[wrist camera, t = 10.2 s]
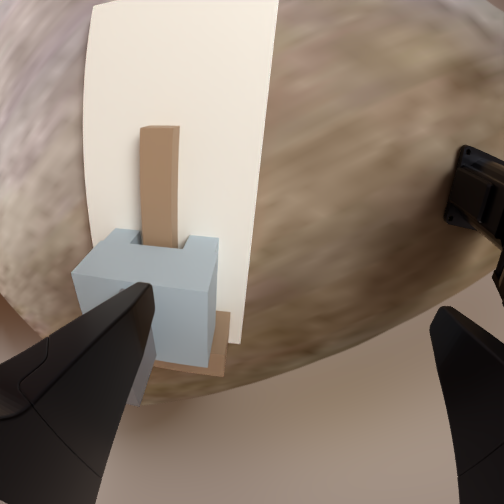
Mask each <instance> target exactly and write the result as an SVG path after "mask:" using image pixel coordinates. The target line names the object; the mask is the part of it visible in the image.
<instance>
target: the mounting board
mask: <svg viewBox="0 0 504 504" xmlns="http://www.w3.org/2000/svg"><path fill="white" fill-rule="evenodd" d="M278 2H279V0H118V1H113V2H109V3H104V4H100V5H96V6H93V12H92V17H91V23H90V30H89V37H88V45H87V54H86V64H85V77H84V96H83V152H84V171H85V185H86V196H87V205H88V214H89V222H90V229H91V236H92V243H93V248H94V247H95V246H96V245H97V244H98V243H99V242H100V241H103V240H104V239H105V238H106V237H107V236H108V235H109V234H110V233H111V232H112V231H113V230H114V229H115V228H119V229H130V230H140V233H141V245H148V246H158V247H167V248H177V249H183V248H184V246H185V244H186V242H187V240H188V238H189V236H190V235H195V236H205V237H215V238H219V250H218V272H217V296H216V321H215V330H214V336H213V341H212V346H211V352H210V357H209V363H208V368H205V367H197V366H190V365H184V364H177V363H171V362H165V361H159V360H155V361H154V364H153V366H154V367H159V368H165V369H170V370H177V371H183V372H190V373H196V374H204V375H212V376H220V377H224V371H225V363H226V355H227V347H228V343H236V344H240V342H241V332H242V323H243V314H244V305H245V296H246V287H247V278H248V269H249V260H250V251H251V242H252V233H253V224H254V215H255V206H256V197H257V188H258V179H259V170H260V161H261V152H262V143H263V134H264V125H265V116H266V107H267V99H268V90H269V81H270V72H271V63H272V54H273V46H274V37H275V28H276V19H277V11H278Z"/></svg>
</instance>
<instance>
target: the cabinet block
mask: <svg viewBox="0 0 504 504" xmlns="http://www.w3.org/2000/svg"><path fill="white" fill-rule="evenodd" d="M218 250H219V238H215V237H205V236H195V235H190V236H189V238H188V240H187V242H186V244H185V246H184V248H183V249H177V248H167V247H158V246H148V245H141V233H140V230H130V229H119V228H115V229H114V230H113V231H112V232H111V233H110V234H109V235H108V236H107V237H106V238H105V239H104V240H103V241H100V242H99V243H98V244H97V245H96V246H95V247H94V248H93V249H92V250H91V251H90V252H89V253H88V255H87V256H86V257H85V258H84V259H83V260H82V261H81V262H80V263H79V264H78V266H77V267H76V268H75V269H74V270H73V271H72V272H71V275H72V279H73V282H74V286H75V290H76V294H77V297H78V301H79V304H80V308H81V311H82V314H85V313H86V312H88V311H90V310H91V309H93V308H94V307H96V306H98V305H99V304H101V303H103V302H104V301H106V300H108V299H109V298H111V297H113V296H114V295H116V294H118V293H119V292H121V291H123V290H125V289H126V288H128V287H130V286H131V285H133V284H135V283H136V282H146V283H150V284H151V285H152V287H153V293H154V301H155V314H154V317H153V321H152V325H151V328H150V332H149V336H148V340H147V344H146V348H145V352H144V355H143V358H142V361H141V364H140V367H139V369H138V372H137V375H136V377H135V380H134V383H133V386H132V388H131V391H130V394H129V397H128V399H127V402H126V404H130V405H134V406H138V407H139V406H140V404H141V401H142V398H143V394H144V391H145V388H146V385H147V382H148V379H149V376H150V373H151V370H152V367H153V364H154V361H155V360H159V361H165V362H171V363H177V364H184V365H190V366H197V367H205V368H208V363H209V357H210V352H211V346H212V341H213V336H214V330H215V321H216V296H217V272H218Z"/></svg>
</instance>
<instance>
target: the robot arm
mask: <svg viewBox="0 0 504 504" xmlns="http://www.w3.org/2000/svg"><path fill="white" fill-rule="evenodd" d="M467 149H468V153H467V154H466V150H467ZM449 216H451V217H450V219H448V218H449ZM444 221H445V222H446V223H448V224H450V225H455V226H460V227H464V228H469V229H473V230H478V231H479V232H480V233H481V234H482V235H484V236H485V237H486V238H487V239H488V240H490V241H491V242H492V243H493V244H494V245H495V246H496V247H498V248H499V249H500V250H501V251H502V252H501V255H500V258H499V261H498V264H497V267H496V270H494V273H493V275H492V279H493V281H494V283H495V285H496V288H497V290H498V292H499V294H500V296H501V299H502V301H503V302H502V304H503V306H504V161H502V160H500V159H498V158H496V157H494V156H492V155H489V154H487V153H485V152H483V151H480V150H478V149H476V148H473V147H471V146H468V145H463V146H462V148H461V152H460V157H459V161H458V166H457V170H456V174H455V178H454V182H453V186H452V189H451V193H450V197H449V200H448V204H447V207H446V210H445V213H444ZM154 314H155V301H154V293H153V287H152V285H151V284H150V283H146V282H136V283H135V284H133V285H131V286H130V287H128V288H126V289H125V290H123V291H121V292H119V293H118V294H116V295H114V296H113V297H111V298H109V299H108V300H106V301H104V302H103V303H101V304H99V305H98V306H96V307H94V308H93V309H91V310H90V311H88V312H86V313H85V314H83V315H81V316H80V317H78V318H76V319H75V320H73V321H72V322H70V323H68V324H67V325H65V326H64V327H62V328H60V329H59V330H57V331H56V332H54V333H52V334H51V335H49V337H46V338H44V339H43V340H41V341H40V342H38V343H36V344H35V345H33V346H32V347H30V348H28V349H27V350H25V351H23V352H21V353H20V354H18V355H16V356H14V357H12V358H11V359H9V360H7V361H5V362H3V363H1V364H0V504H95V502H96V499H97V495H98V491H99V488H100V484H101V480H102V476H103V473H104V470H105V466H106V463H107V460H108V457H109V453H110V450H111V447H112V444H113V441H114V438H115V435H116V431H117V429H118V426H119V423H120V420H121V417H122V413H123V411H124V408H125V405H126V402H127V399H128V397H129V394H130V391H131V388H132V386H133V383H134V380H135V377H136V375H137V372H138V369H139V367H140V364H141V361H142V358H143V355H144V352H145V348H146V344H147V340H148V336H149V332H150V328H151V325H152V321H153V317H154ZM430 336H431V341H432V346H433V351H434V356H435V362H436V367H437V372H438V376H439V380H440V384H441V388H442V392H443V395H444V400H445V405H446V409H447V414H448V419H449V423H450V429H451V434H452V439H453V446H454V452H455V460H456V467H457V476H458V488H459V502H460V504H504V344H503V343H502V342H501V341H499V340H498V339H497V338H495V337H494V336H493V335H491V334H490V333H489V332H487V331H486V330H484V329H483V328H482V327H480V326H479V325H477V324H476V323H474V322H473V321H472V320H470V319H469V318H467V317H466V316H464V315H463V314H461V313H460V312H459V311H457V310H456V309H454V308H453V307H451V306H442V307H440V308H439V309H438V311H437V313H436V315H435V317H434V319H433V321H432V323H431V325H430Z"/></svg>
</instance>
